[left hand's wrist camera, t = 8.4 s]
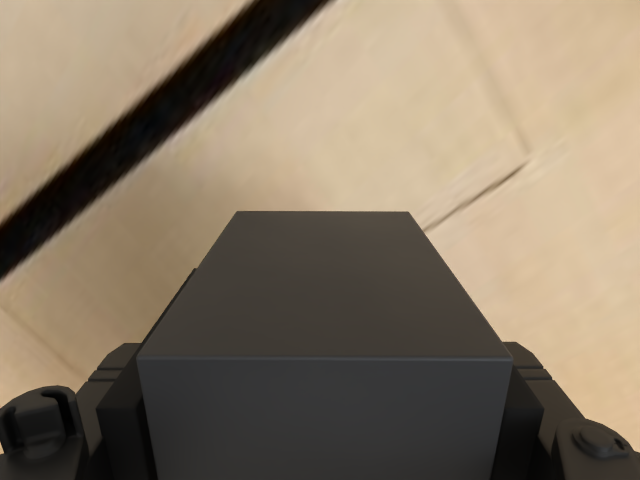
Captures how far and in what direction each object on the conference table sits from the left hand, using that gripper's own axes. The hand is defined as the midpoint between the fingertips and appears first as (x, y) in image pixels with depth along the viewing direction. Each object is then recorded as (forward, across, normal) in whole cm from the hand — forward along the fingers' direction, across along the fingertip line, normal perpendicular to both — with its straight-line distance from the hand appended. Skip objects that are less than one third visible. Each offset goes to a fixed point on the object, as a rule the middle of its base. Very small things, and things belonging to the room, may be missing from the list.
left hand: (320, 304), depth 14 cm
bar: (+1, 0, -10) cm, 10 cm away
